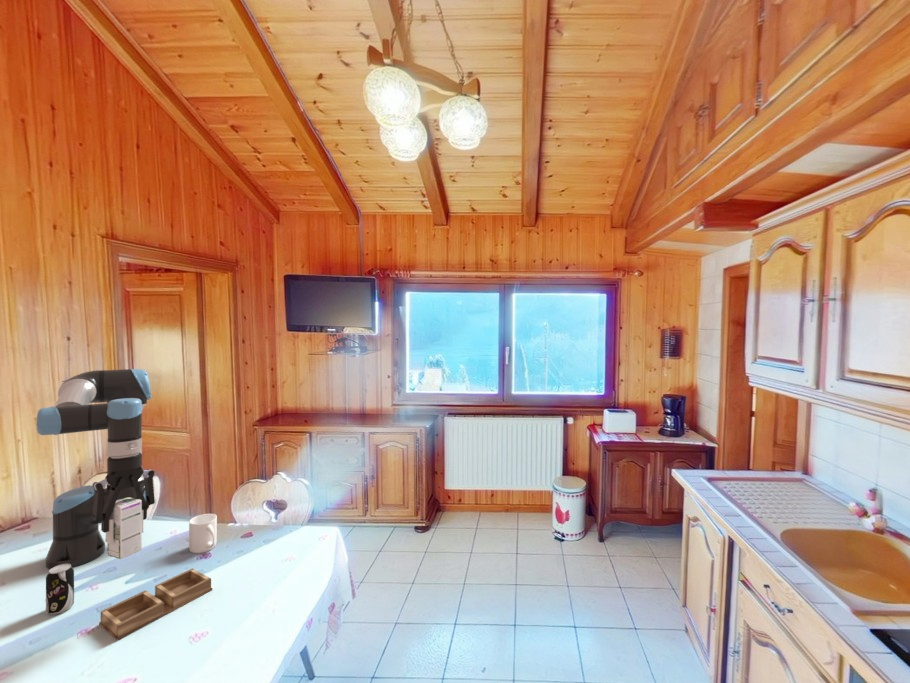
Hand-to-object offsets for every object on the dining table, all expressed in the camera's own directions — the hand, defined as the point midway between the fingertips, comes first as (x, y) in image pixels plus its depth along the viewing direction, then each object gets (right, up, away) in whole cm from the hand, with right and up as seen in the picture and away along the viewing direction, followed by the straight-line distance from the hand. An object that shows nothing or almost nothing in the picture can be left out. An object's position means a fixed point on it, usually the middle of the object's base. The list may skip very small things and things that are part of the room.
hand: (124, 536), depth 114 cm
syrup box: (0, -5, 0) cm, 5 cm away
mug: (+1, -21, +35) cm, 41 cm away
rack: (+7, -22, +4) cm, 23 cm away
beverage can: (-20, -22, +2) cm, 29 cm away
